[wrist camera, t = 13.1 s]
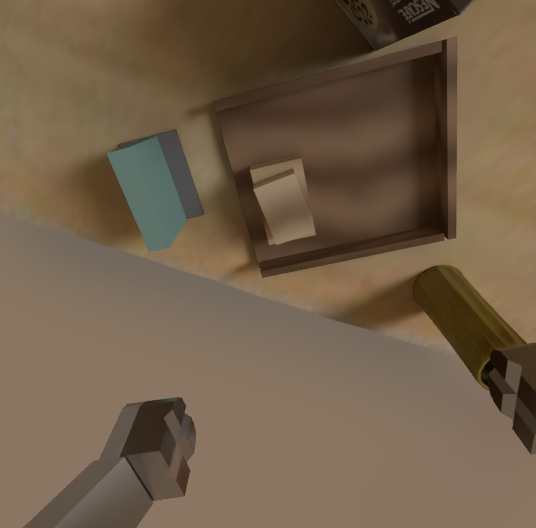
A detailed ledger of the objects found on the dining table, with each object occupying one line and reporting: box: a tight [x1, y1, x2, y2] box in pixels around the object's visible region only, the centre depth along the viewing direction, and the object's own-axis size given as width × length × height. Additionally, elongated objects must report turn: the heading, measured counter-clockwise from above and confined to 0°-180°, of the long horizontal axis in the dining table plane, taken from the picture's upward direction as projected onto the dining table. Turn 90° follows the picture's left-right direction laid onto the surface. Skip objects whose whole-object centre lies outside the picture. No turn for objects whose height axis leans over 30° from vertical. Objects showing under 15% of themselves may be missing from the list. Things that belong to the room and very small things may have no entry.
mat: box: [119, 130, 204, 219], centre depth 37 cm, size 9×6×1 cm, turn 13°
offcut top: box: [253, 168, 315, 245], centre depth 34 cm, size 6×4×2 cm, turn 21°
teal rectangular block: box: [106, 136, 187, 252], centre depth 33 cm, size 9×2×8 cm, turn 13°
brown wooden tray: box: [213, 37, 457, 278], centre depth 35 cm, size 18×21×4 cm
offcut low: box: [250, 154, 316, 245], centre depth 36 cm, size 8×5×2 cm, turn 13°
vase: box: [413, 266, 527, 390], centre depth 36 cm, size 6×6×14 cm
